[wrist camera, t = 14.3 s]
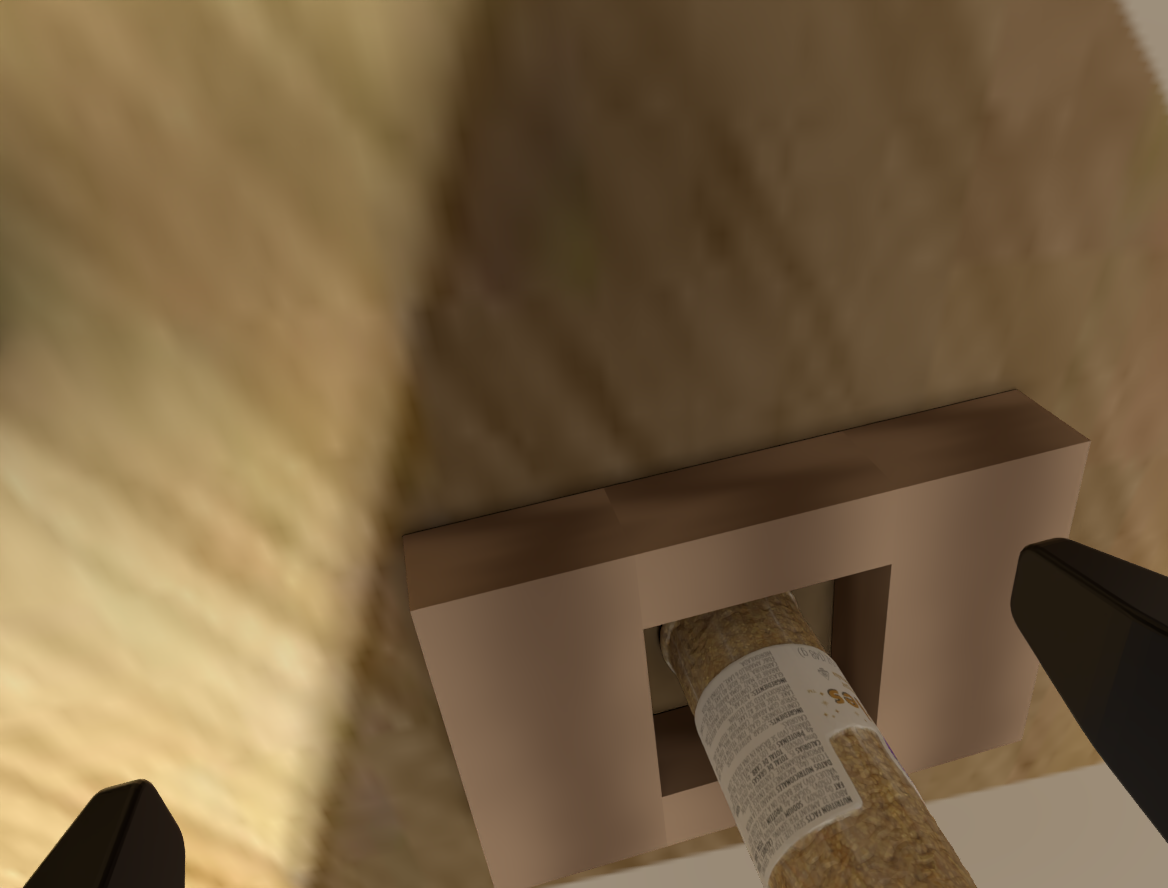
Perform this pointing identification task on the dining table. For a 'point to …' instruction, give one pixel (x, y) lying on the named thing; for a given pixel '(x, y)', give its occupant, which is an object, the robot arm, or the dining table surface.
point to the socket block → (722, 579)
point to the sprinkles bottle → (802, 756)
